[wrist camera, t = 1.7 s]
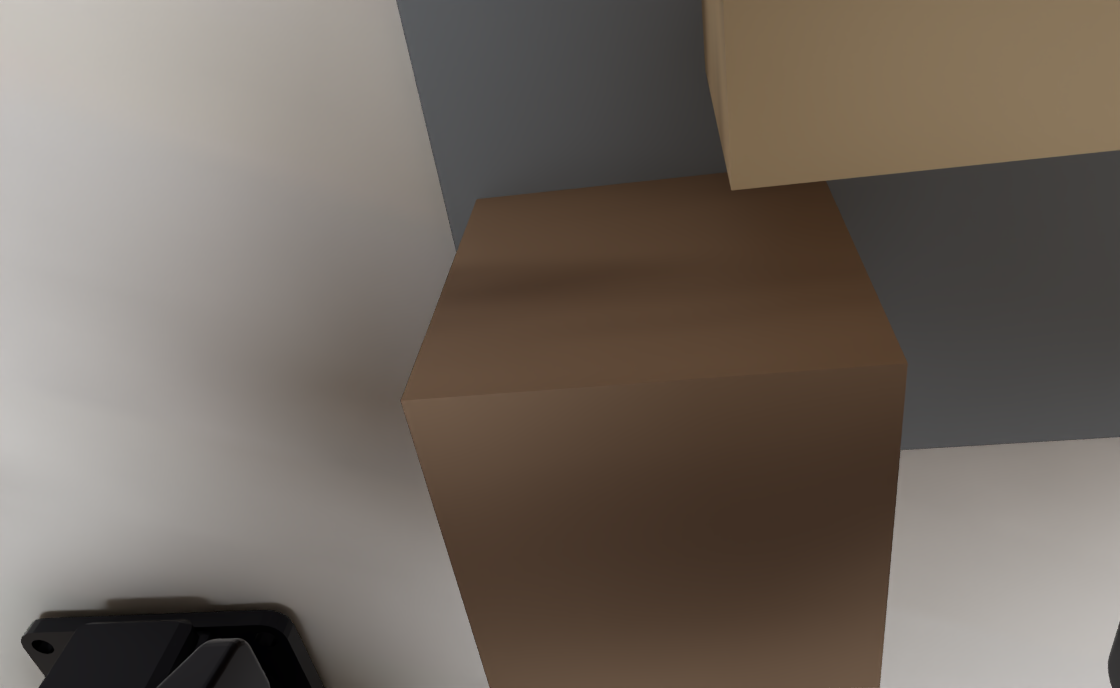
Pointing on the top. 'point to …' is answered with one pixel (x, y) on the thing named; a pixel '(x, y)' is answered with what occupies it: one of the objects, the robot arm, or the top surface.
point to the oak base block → (907, 84)
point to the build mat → (864, 202)
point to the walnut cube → (664, 437)
